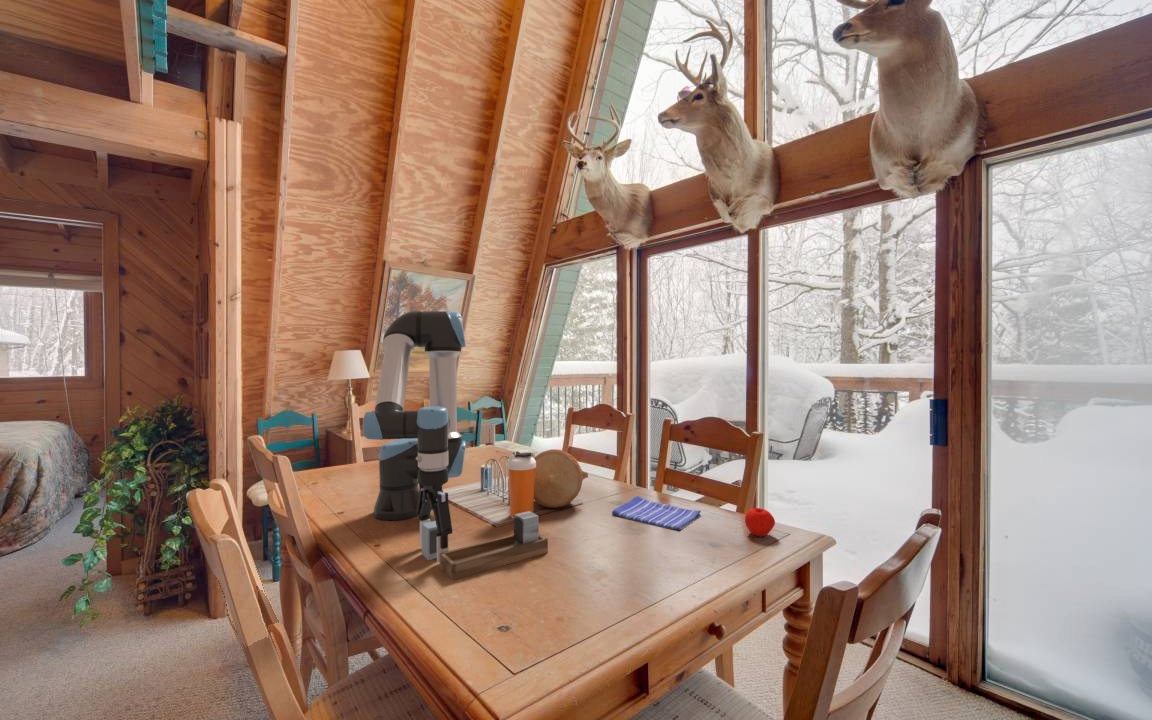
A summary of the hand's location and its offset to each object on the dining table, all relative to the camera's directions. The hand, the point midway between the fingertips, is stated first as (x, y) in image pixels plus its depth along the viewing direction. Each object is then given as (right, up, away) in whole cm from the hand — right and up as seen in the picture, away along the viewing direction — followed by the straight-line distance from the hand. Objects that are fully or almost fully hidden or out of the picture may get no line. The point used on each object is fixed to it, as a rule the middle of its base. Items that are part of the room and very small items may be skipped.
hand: (433, 552), depth 130 cm
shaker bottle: (+20, 0, +29) cm, 35 cm away
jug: (+30, 0, +47) cm, 55 cm away
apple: (+89, -1, +14) cm, 90 cm away
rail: (+16, -1, -3) cm, 17 cm away
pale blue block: (0, -1, 0) cm, 1 cm away
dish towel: (+62, -1, +31) cm, 69 cm away
